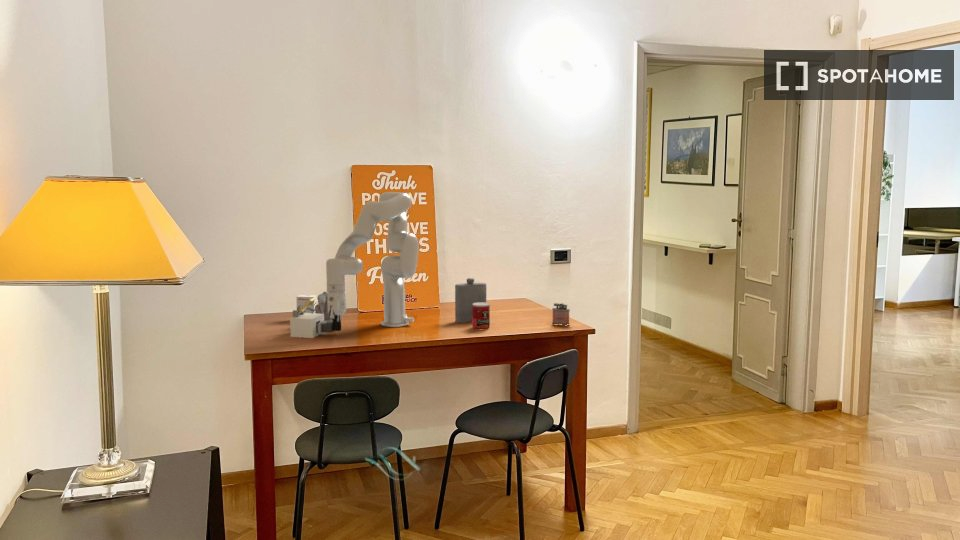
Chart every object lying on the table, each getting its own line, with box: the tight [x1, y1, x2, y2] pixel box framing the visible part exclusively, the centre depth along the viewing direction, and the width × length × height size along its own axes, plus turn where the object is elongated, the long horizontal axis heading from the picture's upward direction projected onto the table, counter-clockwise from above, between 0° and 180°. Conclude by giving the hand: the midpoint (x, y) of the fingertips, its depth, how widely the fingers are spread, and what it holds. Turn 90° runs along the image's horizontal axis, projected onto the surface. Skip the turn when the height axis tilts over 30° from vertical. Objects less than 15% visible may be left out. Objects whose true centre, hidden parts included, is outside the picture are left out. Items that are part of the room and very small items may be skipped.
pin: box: [316, 320, 335, 335], centre depth 319 cm, size 19×6×5 cm, turn 78°
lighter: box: [551, 302, 571, 325], centre depth 338 cm, size 8×3×10 cm, turn 65°
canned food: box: [471, 302, 491, 330], centre depth 332 cm, size 8×8×11 cm
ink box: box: [296, 294, 318, 313], centre depth 348 cm, size 9×5×12 cm, turn 84°
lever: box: [298, 298, 315, 315], centre depth 319 cm, size 10×4×2 cm
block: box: [289, 308, 324, 339], centre depth 319 cm, size 10×12×11 cm
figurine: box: [315, 291, 333, 323], centre depth 336 cm, size 10×11×15 cm
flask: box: [454, 277, 487, 324], centre depth 346 cm, size 15×6×20 cm, turn 109°
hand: (336, 330), depth 317 cm, fingers closed
